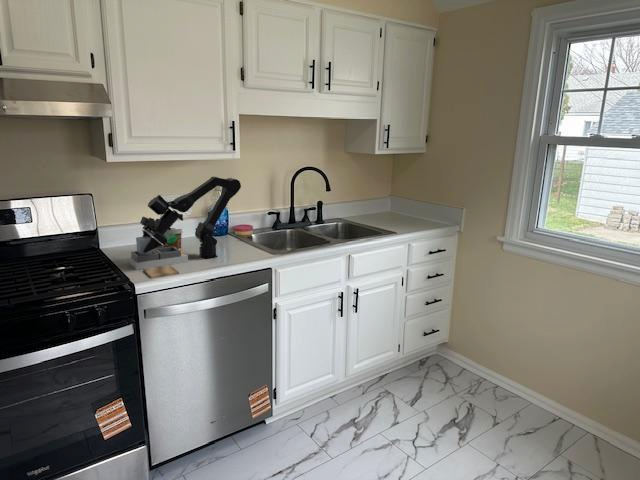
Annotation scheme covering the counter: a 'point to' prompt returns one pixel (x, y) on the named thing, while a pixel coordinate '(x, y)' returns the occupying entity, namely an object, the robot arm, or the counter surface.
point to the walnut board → (160, 271)
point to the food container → (173, 238)
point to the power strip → (158, 258)
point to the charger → (142, 245)
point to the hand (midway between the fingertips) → (141, 249)
